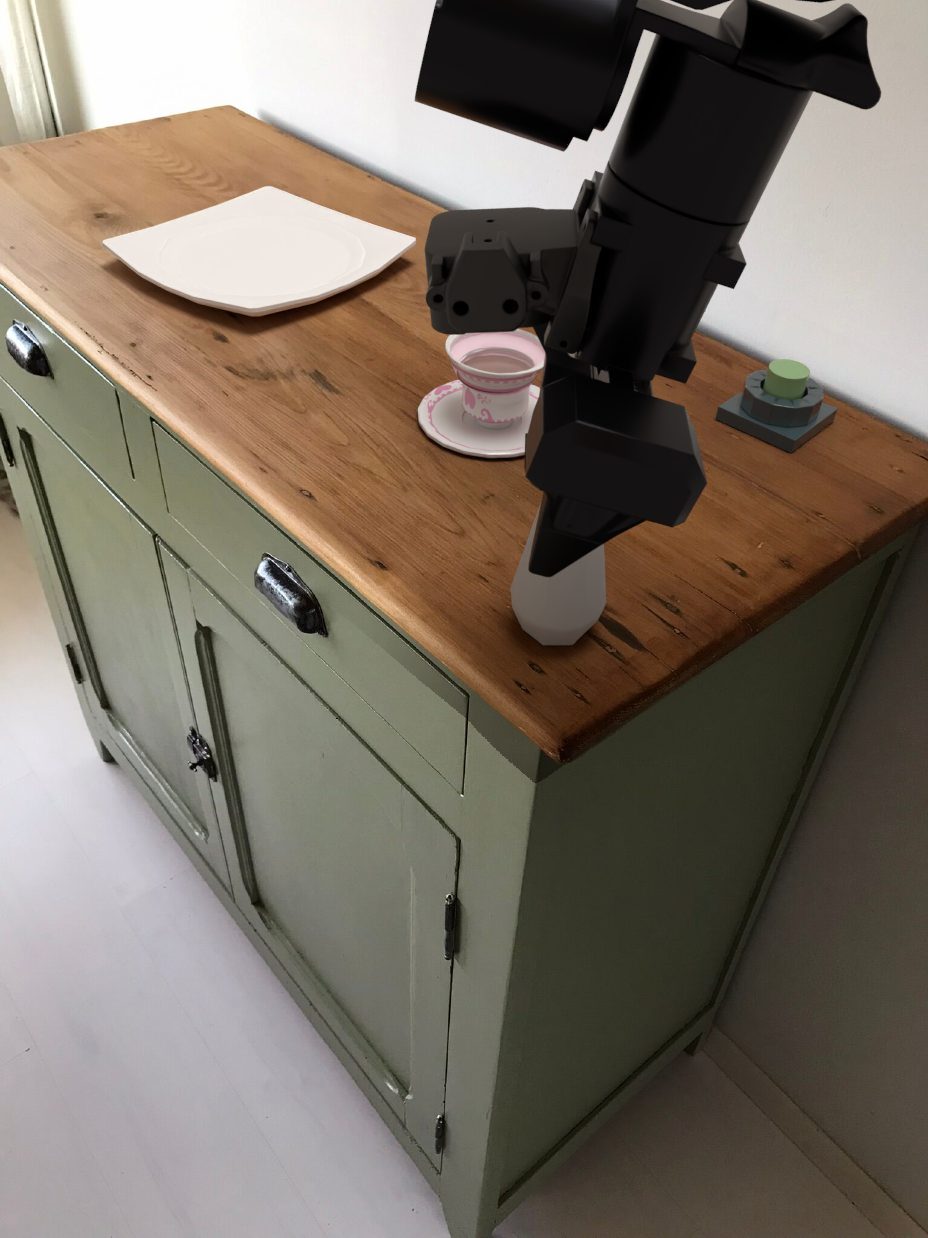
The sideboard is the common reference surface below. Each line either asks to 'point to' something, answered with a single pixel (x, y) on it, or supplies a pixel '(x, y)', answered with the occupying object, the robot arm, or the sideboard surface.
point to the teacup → (486, 394)
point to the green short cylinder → (786, 379)
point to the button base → (777, 413)
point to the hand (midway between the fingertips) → (539, 511)
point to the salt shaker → (559, 597)
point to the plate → (260, 253)
